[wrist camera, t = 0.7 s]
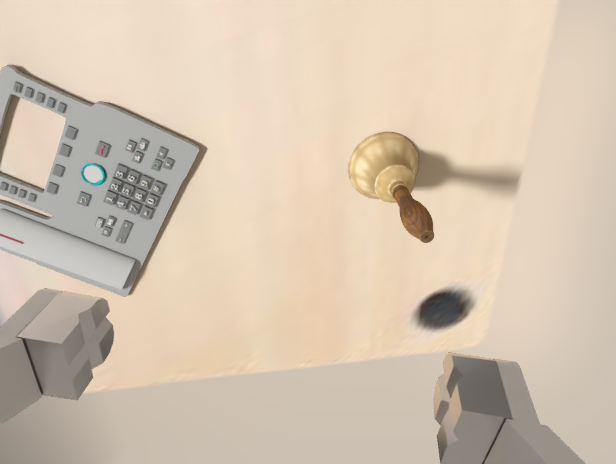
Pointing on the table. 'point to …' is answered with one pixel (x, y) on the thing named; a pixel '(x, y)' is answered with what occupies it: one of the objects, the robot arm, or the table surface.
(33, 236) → the office telephone
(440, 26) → the table surface
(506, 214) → the table surface
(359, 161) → the hand bell
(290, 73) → the table surface
